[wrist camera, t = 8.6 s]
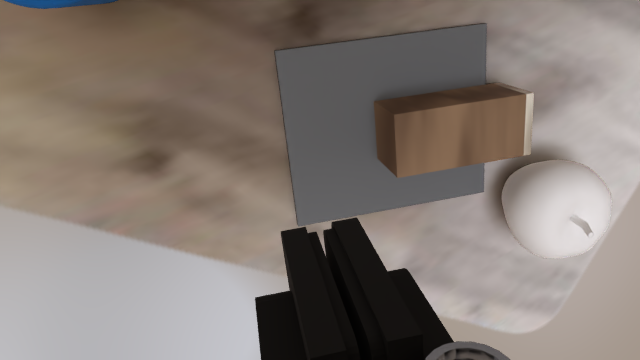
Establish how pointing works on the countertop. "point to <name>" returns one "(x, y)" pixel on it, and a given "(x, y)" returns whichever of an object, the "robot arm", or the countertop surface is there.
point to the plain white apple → (556, 208)
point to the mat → (369, 118)
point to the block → (453, 128)
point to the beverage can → (56, 3)
